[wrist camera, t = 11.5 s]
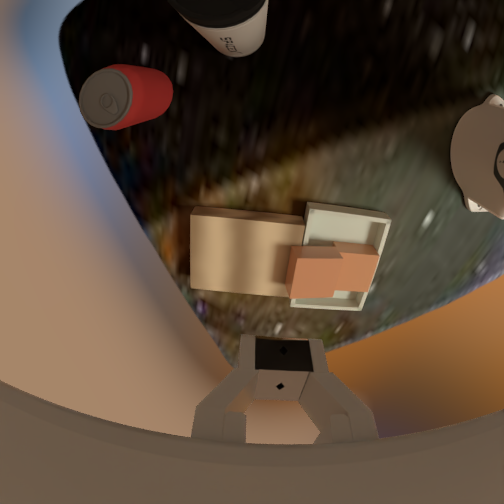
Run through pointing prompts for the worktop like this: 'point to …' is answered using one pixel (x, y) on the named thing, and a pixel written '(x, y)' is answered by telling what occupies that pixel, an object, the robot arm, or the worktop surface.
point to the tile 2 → (356, 266)
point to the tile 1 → (312, 271)
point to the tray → (341, 230)
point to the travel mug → (227, 23)
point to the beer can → (124, 96)
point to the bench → (242, 250)
